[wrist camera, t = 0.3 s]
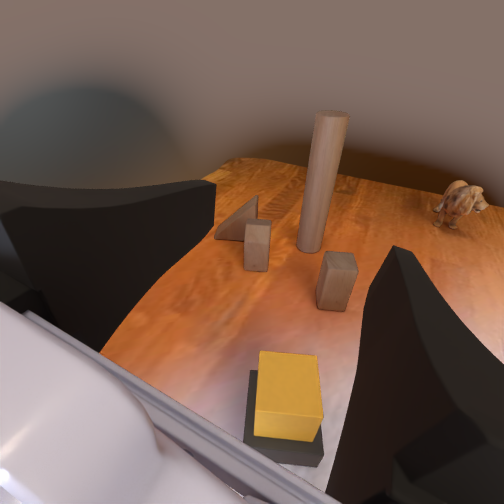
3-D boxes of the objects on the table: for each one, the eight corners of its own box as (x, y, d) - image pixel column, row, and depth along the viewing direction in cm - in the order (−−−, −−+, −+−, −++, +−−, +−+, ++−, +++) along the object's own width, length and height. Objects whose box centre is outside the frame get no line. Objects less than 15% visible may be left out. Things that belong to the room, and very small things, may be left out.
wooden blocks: (218, 227, 49) (209, 102, 36) (329, 236, 47) (359, 109, 35) (191, 298, 36) (164, 138, 23) (345, 312, 34) (403, 151, 22)
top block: (313, 442, 20) (323, 418, 18) (253, 435, 21) (255, 410, 18) (308, 383, 24) (317, 355, 21) (257, 378, 24) (259, 350, 21)
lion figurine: (469, 242, 47) (499, 194, 41) (434, 235, 48) (459, 188, 43) (453, 204, 58) (476, 163, 52) (425, 200, 59) (444, 159, 54)
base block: (317, 467, 22) (324, 455, 20) (242, 459, 22) (242, 446, 20) (311, 391, 26) (316, 375, 25) (249, 385, 27) (250, 369, 25)
